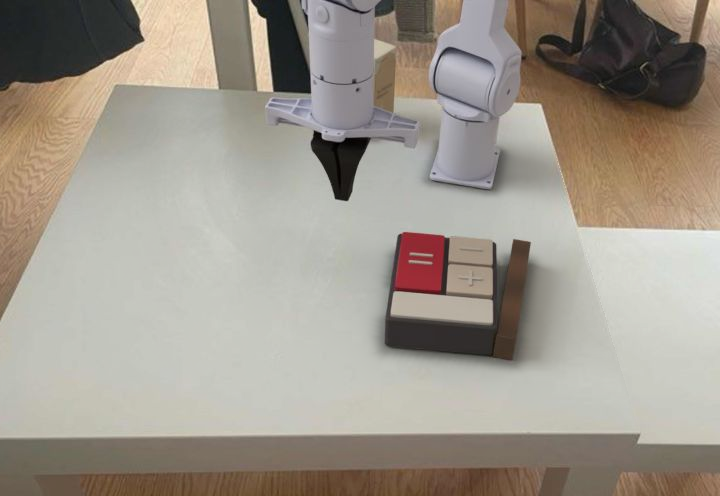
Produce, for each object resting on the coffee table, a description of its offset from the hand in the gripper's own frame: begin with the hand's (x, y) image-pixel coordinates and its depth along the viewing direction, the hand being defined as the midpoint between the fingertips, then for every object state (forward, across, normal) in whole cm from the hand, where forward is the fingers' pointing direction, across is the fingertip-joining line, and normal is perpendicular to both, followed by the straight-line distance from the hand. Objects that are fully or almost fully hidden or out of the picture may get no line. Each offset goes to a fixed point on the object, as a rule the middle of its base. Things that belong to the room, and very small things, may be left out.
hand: (343, 195), depth 83 cm
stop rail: (+9, +19, -2) cm, 21 cm away
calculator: (+10, +12, -3) cm, 15 cm away
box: (+10, -4, +30) cm, 32 cm away
